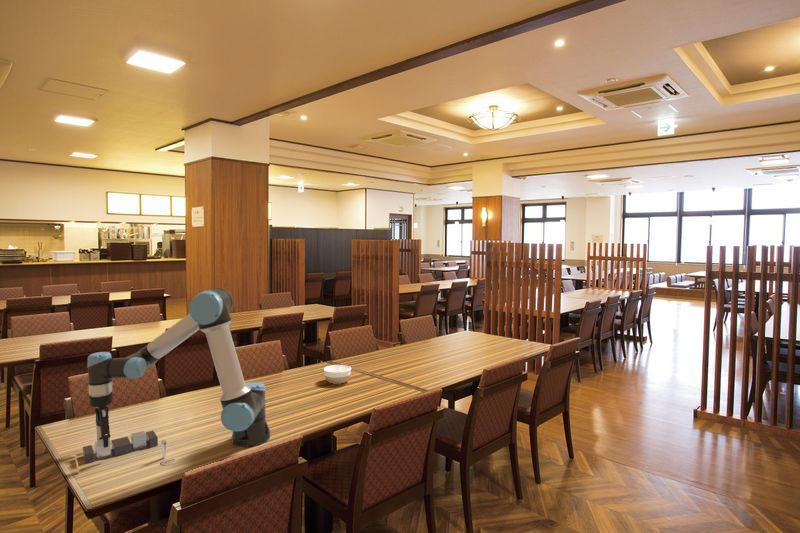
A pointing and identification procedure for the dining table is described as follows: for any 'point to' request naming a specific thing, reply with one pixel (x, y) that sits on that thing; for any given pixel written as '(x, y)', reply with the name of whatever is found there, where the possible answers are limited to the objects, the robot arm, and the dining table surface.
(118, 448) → the rail
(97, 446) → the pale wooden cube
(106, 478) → the dining table surface
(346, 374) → the bowl
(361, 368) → the dining table surface
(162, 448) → the stand
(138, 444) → the light grey cube
